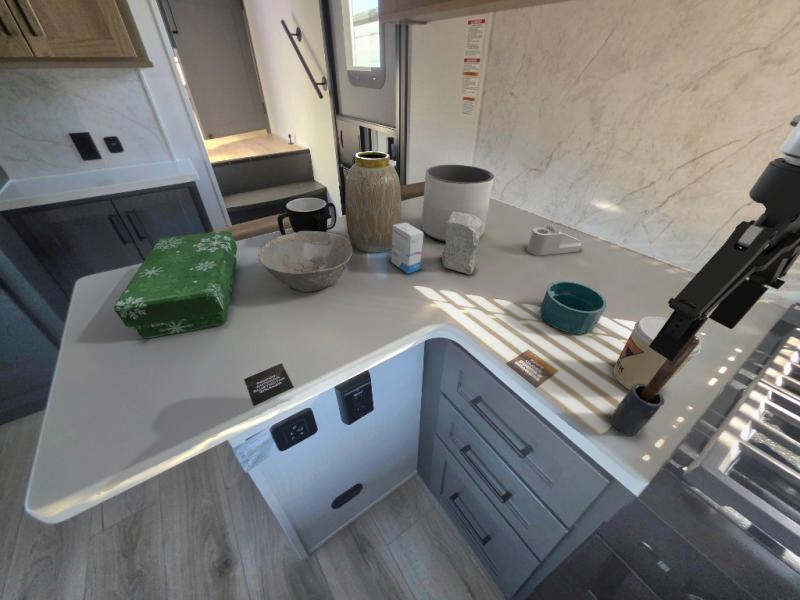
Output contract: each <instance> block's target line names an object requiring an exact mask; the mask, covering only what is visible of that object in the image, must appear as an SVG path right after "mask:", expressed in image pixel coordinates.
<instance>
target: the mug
mask: <svg viewBox="0 0 800 600" xmlns="http://www.w3.org/2000/svg"><path fill="white" fill-rule="evenodd" d="M336 207H337V206H336V205H335V203H333V202H327V201H325V200H324V199H321V198H318V197H301V198H300V197H299V198H296V199H292V200H290V201H289V202H287V203H286V205H285V208H286V212H284V213H281V214H278V216H277V226H278V230H279V233H280V236H282V235H286V234H287V232H286V229H285V223H284V219H286V218H288V221H289V224H290V226H291V229H292V233H294V232H296V233H297V232H300V231H319V232H328V231H331V230H332V229H334V228H335V226H336V224H337V209H336ZM328 208H330V216H331V217H330V223H328ZM297 234H298V233H297Z"/></svg>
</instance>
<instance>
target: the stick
mask: <svg viewBox="0 0 800 600" xmlns="http://www.w3.org/2000/svg"><path fill="white" fill-rule="evenodd" d="M698 338H699V336H698V335H697V336H694V337H693V338H692V339H691V341H690V342H689V343H688V344H687V346H686V347H685V348H684V349H683V351H682V352H681V353H680V354H679V356H678V357H677V358H676V359H675V360H674V361H672V362H671V361H670V360H668V359H667V360H666V361H665V362H664V364H663V365H662V366H661V367H660V369H659V370H658V371H657V373H656V374H655V375H654V377H653V378H652V379H651V380H650V382H649V383H648V384H647V386H646V387H645V388H644V390H643V391H642V392H641V393H640V395H639V397H640V398H641V399H643V400H644V401H646V402H648V403H650V402H651V401H652V400H653V399H654V397H655V396H656V395H657V394H658V393H660V391H661V390H662V389H663V388H664V387H665V386H666V385H667V384H668V383H669V382H668V380H669V379H670V378H671V377H672V376H673V374H674V373H675V372H676V371H677V370H678V368H679V367H680V366H681V365H682V363H683V362H684V361H685V360H686V359H687V357H688V356H689V355H690V354H691V352H692V351H693V350H694V349H695V348H696V346H697V345H698V344H699V340H700V338H699V339H698ZM667 382H668V383H667ZM666 383H667V384H666ZM665 384H666V385H665ZM664 385H665V386H664Z"/></svg>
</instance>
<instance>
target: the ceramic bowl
mask: <svg viewBox="0 0 800 600" xmlns="http://www.w3.org/2000/svg"><path fill="white" fill-rule="evenodd" d="M297 233H298V234H297ZM297 233H296V232H291V233H286V235H280V236H277V237H275V238H272V239H270V240H269V241H267V242H266V243H265V244H264V245H263V246H262V247H261V249H260V251H258V255H257V259H258V261H259V263H260V264H261V265H262V266H263V267H264V268H265V270H267V271H268V273H270V274H271V275H272V276H273V277H275V279H277V280H278V281H279V282H281V283H282V284H284V285H286V286H288V287H290V288H292V289H294V290H296V291H298V292H305V293H308V292H316V291H319V290H323V289H327V288H329V287H332V286H333V285H335V284H336V283H337V282H338V280H339V279H340V278H341V276H342V275H343V273H344V272H345V271H346V268H347V266H348V264H349V262H350V260H351V258H352V256H353V247H352V243H351V242H350V241H349V240H348V238H346V237H345V236H343V235H339V234H336V233H332V232H328V231H327V232H319V231H300V232H297Z"/></svg>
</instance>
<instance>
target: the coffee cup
mask: <svg viewBox="0 0 800 600" xmlns="http://www.w3.org/2000/svg"><path fill="white" fill-rule="evenodd" d="M668 319H669V318H666V317H662V316H656V315H655V316H654V315H649V316H644V317H641V318H640V319H638V320H637V321H636V322H635V324H634V327H633V329H632V331H631V333H630V334H629V336H628V338H627V340H626V342H625V344H624V347H623V349H622V351H621V352H620V354H619V356H618V359H617V361H616V363H615V365H614V367H613V375H614V377H615V380H617V381H618V383H620V384H621V385H622V386H623V387H625V388H627V389H628V391H629V390H630V389H631V387H632V386H633V385H635V384H645V385H647V384H648V383H649V382H650V380H651V379H652V378H653V377H654V375H655V374H656V373H657V371H658V370H659V369H660V367H661V366H662V365H663V364H664V362H665V361H666V360H667V358H665V357H664V356H662V355H660V354H659V353H657V352H656V351H654V350H653V349H651V348H650V347H649V346H650V344H651V343H652V341H653V340H654V338H655V337H656V336H657V334H658V333H659V331H660V330H661V328H662V327H663V326H664V324H665V323H666V321H667V320H668ZM695 336H697V337H698V335H697V333H696V334H695ZM698 339H699V344H698V345H697V346H696V348H695V349H694V350H693V351H692V352H691V354H690V355H689V356H688V357H687V359H686V360H685V361H684V362H683V363H682V365H681V366H680V367H679V368H678V370H677V371H676V372H675V373H674V374H673V376H672V377H671V378H670V379H669V380H668V382H667V383H666V384H665V385H664V387H665V386H666V385H668V383H669V382H670V381H671V380H672V379H673V378H674V377H675V376H676V375H677V374H678V373H680V371H681V370H683V368H685V366H686V365H687V364H689V362H690V361H691V360H693V358H694V357H696V356H697V355H698V354H700V352H701V349H702V342H701V339H700V338H699V337H698Z"/></svg>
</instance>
